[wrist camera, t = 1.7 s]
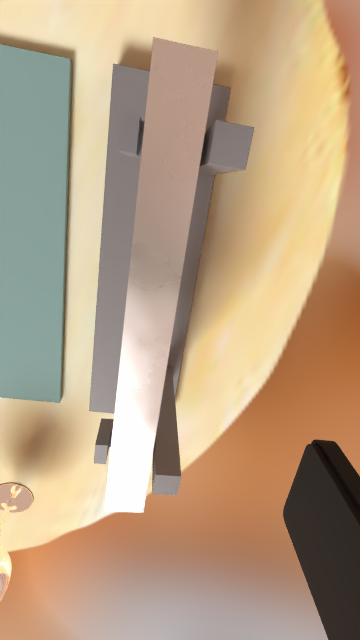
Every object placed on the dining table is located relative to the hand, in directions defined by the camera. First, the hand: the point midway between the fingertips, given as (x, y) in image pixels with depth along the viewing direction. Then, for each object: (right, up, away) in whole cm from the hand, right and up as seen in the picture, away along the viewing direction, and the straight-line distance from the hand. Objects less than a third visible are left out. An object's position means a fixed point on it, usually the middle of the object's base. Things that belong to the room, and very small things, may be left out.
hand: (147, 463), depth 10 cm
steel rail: (-1, +4, +10) cm, 11 cm away
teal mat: (-14, +10, +18) cm, 25 cm away
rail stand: (-2, +8, +19) cm, 21 cm away
